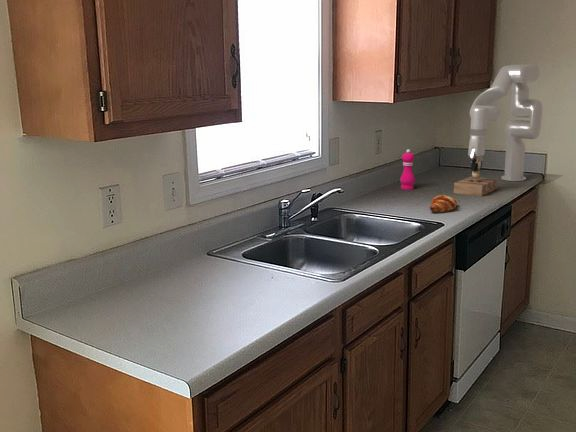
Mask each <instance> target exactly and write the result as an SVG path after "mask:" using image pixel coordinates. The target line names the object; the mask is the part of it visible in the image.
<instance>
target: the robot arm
mask: <svg viewBox="0 0 576 432" xmlns="http://www.w3.org/2000/svg"><path fill="white" fill-rule="evenodd" d="M540 74H541V72H540V67H539V66H538V65H536V64H510V65H509V64H508V65H504V66H503V67H501V68H500V69H499V71H498V73H497V75H496V77H495V78H494V81H493V82H492V84H491V86H490V87H489V88H488V89H486V90H484V91H483V92H481V93H480V94H479V95H477V97H476V98H475V99H474V100H473V103H472V104H471V107H470V109H469V117H470V129H469V130H470V131H469V132H470V133H469V136H470V137H469V138H470V139H469V143H468V151H467V152H468V154H467V155H468V157H469V158H470V164H471V165H470V171H471V172H472V171H478V163H477V162H478V157H479V156H481V168H480V171H482V168H483V167H482V166H483V157H484V155H485V154H486V137H487V129H488V128H487V126H488V122H495V121H497V120H499V118H500V116H501V111H500V109H499V107H497V106H496V105H495V106H494V105H488V104H489V103H492V102H495V101H499V100H501V99H504V98H505V97H506V96H507V95H508V92H509V91H510V89H511V99H510V109H509V110H510V111H509V112H510V115H511V116H512V117H514V118H527V120H525V119H510V120H509V121H507V122H506V124H505V126H504V129H505V141H506V143H505V146H506V147H505V158H504V159H505V161H504V175H501V177H500V179H501V180H502V181H507V182H523V181H526V180H527V177H526V176H524V171H525V156H526V155H525V154H526V153H525V152H526V145H525V143H524V141H523V140H535V139H538V137H539V135H540V133H541V127H542V126H541V125H542V118H543V104H542V102H541V101H540V100H539V99H536V98H535V99H532V98H530V86H529V85H528V83H533V82H535V81H537V80H538V79H539V77H540ZM528 118H529V119H528ZM474 155H476V156H474ZM475 158H476V159H475Z"/></svg>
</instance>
